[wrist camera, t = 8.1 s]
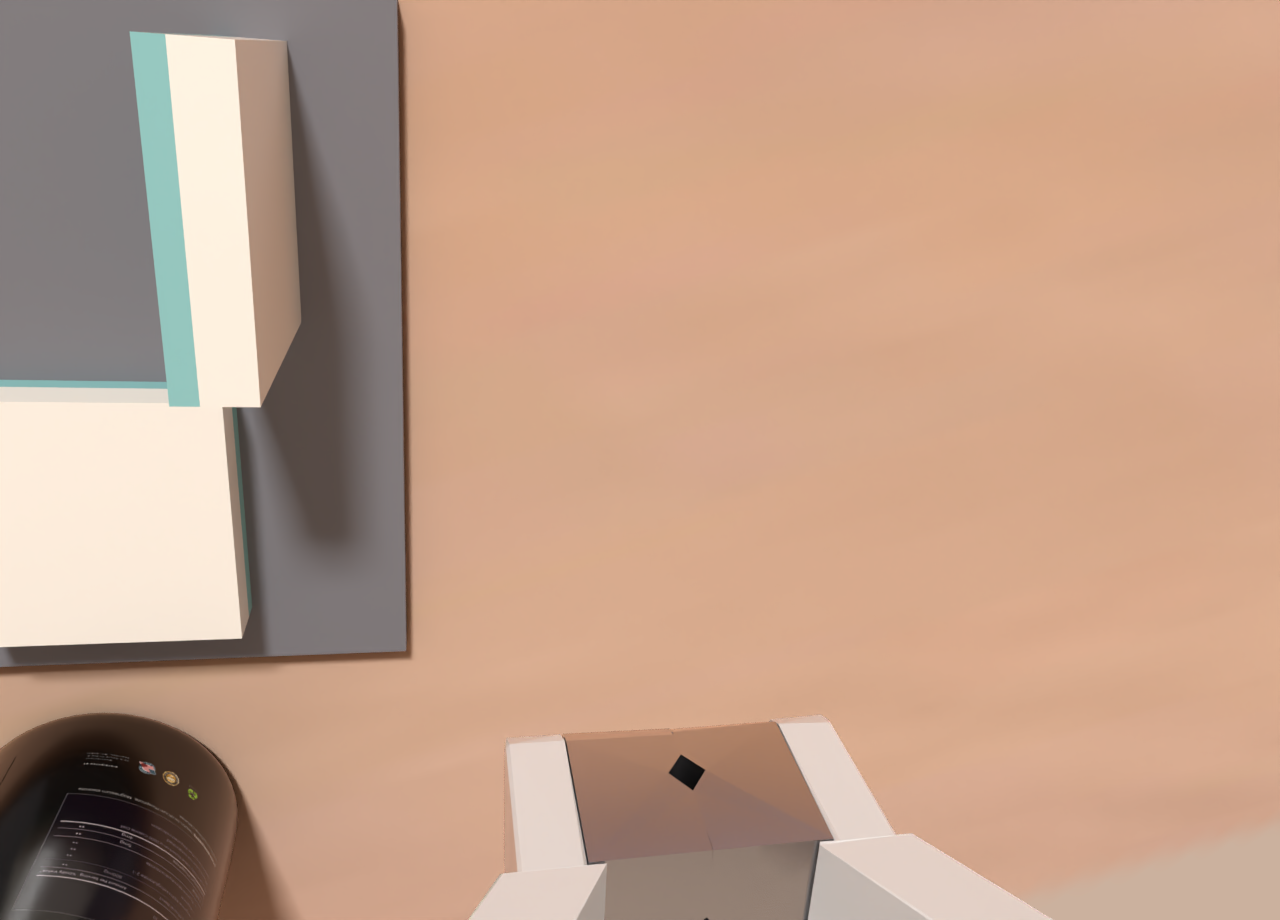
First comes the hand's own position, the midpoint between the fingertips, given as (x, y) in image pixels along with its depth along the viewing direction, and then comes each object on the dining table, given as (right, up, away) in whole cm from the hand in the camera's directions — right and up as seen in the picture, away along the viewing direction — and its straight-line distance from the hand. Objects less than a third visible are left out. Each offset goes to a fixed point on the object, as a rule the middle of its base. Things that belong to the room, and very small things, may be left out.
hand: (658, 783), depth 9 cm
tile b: (-9, +9, +12) cm, 18 cm away
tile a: (-10, +2, +14) cm, 17 cm away
